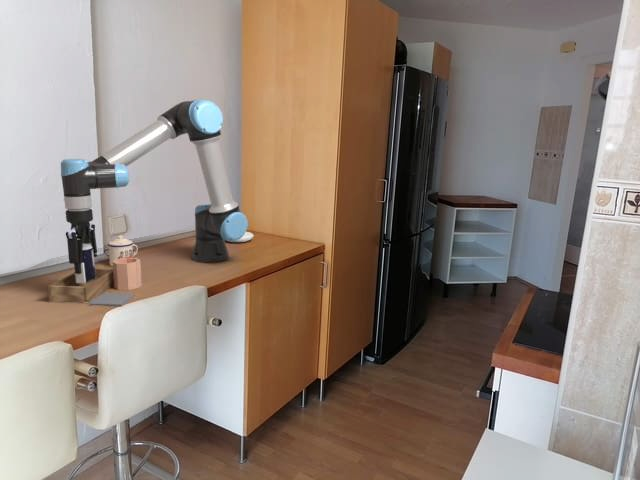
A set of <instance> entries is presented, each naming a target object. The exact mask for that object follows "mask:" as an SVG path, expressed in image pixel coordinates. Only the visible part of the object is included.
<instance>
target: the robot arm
mask: <svg viewBox="0 0 640 480" xmlns="http://www.w3.org/2000/svg"><path fill="white" fill-rule="evenodd" d="M156 118H157V120H156V121H155V122H153V123H151V124H150V125H148V126H147V127H145V128H142V130H140V131H138V132H137V133H135V134H134V135H132V136H131V137H130V136H129V137H128V138H127V139H126V140H124V141H122V142H120V144H118V145H116V146H114V147H113V148H111V149H110V150H108V151H106V152H104V153H103V154H101V155H100V156H99V157H96V158H95V159H93V160H91V161H88V160H87V159H85V158H65V159H62V161H61V162H60V177H61V184H62V191H63V202H64V208H65V209H66V211H65V219H66V222H67V223H70V225H71V226H70V231H66V232H65V237H66V241H67V242H66V243H67V252H68V263H69V264H73V265H74V272H75V276H76V283H84V284H87V283H86V279H85V269H84V263H82V253H83V243H84V244H88V243H90V244H91V246H92V247H93V255H94V258H96V257H98V246H97V240H96V239H97V238H96V231H95V230H96V225H95V224H93V223H92V224H91V223H90V222H92V221H93V220H94V213H93V210H92V207H93V204H92V196H91V195H92V193H91V190H95V189H98V190H99V189H114V188H117V189H118V188H124V187H127V186H128V185H129V181H130V173H129V169H128V166H130V165H131V164H132V163H134V162H136V161H137V160H139V159H140V158H142V157H143V156H145V155H146V154H148V153H150V152H152V151H153V150H154V149H156V148H157V147H159V146H160V145H162V144H163V143H164V142H167V141H169V139H171V140H174V139H176V138H178V137H180V136H182V135H187V134H188V135H187V136H188V139H189V142H190V143H192V144H193V145H194V146H195V149H196V153H197V155H198V161H199V164H200V167H201V171H202V175H203V179H204V182H205V187H206V190H207V193H208V196H209V201H210V203H209V204H201V205H200V204H199V205H197V206H195V208H194V224H195V225H194V226H195V242H194V246H193V249H192V252H191V258H192V260H193V261H195V262H201V263H216V262H217V261H218V262H222V261H226V260H228V259H229V249H228V246H227V244H226V240H230V241H236V240H238V239H240V238H241V237H243V235H244V234H245V232H248V231H247V230H248V226H249V221H248V218H247V216H246V215H245V214H244V213H242V212H241V210H240V206H239V204H238V202H237V201H235V200H234V198H233V194H232V190H231V187H230V183H229V177H228V174H227V170H226V166H225V162H224V161H225V160H224V158H223V153H222V150H221V146H220V142H219V140H220V138H221V137H222V133H221V129H222V126H223V124H224V123H223V122H224V115H223V113H222V110H221V109H220V108H219V106H218V105H217V104H216V103H214V102H213V101H211V100H207V99H206V100H205V99H196V100H190V101H189V100H186V101H182V102H179V103H177V104H175V105H174V106H172V107H171V108H170V109H169V108H168V110H166V111H165V112H163V113H162V114H160V115H159V116H158V117H156ZM218 262H217V263H218Z"/></svg>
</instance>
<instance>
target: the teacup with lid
mask: <svg viewBox="0 0 640 480" xmlns="http://www.w3.org/2000/svg"><path fill="white" fill-rule="evenodd" d="M116 237H117V238H114V239H113V240H110V241H109V242H108V244H107V245H108V253H109V254H108V255H109V265H110V266H111V267H112V268H113V261H115V260H116V259H121V258H134V257H135V256H136V255H137V253H138V250H139V248H138V245H137V244H136V243H135V244H134V242H133V240H131V239H127V238H125V237H124V236H123V235H118V236H116ZM133 247H134V248H133Z"/></svg>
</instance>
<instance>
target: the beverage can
mask: <svg viewBox="0 0 640 480" xmlns="http://www.w3.org/2000/svg"><path fill="white" fill-rule="evenodd" d="M93 250H94V249H93V247H92V246H91V244H90V243H88V244H84V243H83V253H82V263H84V269H85V279H86V282H91V281H93V279H94V278H95V277H96V275H95V268H96V267H95V257H94V255H93Z"/></svg>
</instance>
